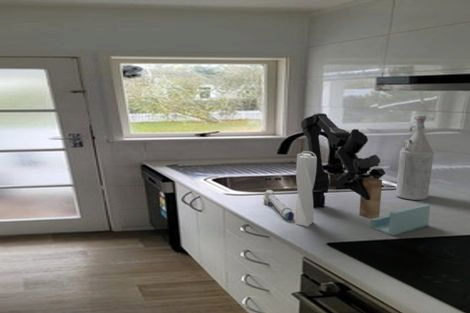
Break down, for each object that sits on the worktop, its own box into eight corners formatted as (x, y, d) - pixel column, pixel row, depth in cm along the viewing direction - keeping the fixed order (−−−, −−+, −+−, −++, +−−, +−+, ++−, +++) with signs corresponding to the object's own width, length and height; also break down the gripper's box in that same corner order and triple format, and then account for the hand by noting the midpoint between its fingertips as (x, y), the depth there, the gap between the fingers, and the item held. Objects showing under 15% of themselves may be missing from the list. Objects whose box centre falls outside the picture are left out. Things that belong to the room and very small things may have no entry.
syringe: (283, 212, 125) (262, 187, 148) (282, 227, 127) (261, 200, 150) (296, 210, 126) (272, 186, 149) (294, 226, 128) (271, 199, 151)
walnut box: (359, 215, 113) (361, 178, 111) (368, 213, 115) (371, 177, 113) (370, 219, 109) (373, 181, 107) (379, 217, 111) (382, 179, 109)
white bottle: (388, 195, 160) (395, 114, 154) (410, 191, 168) (417, 113, 162) (412, 202, 149) (421, 115, 143) (435, 197, 158) (444, 114, 151)
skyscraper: (309, 228, 118) (313, 152, 114) (290, 224, 122) (293, 150, 118) (316, 221, 125) (320, 149, 120) (298, 218, 129) (301, 147, 124)
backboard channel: (370, 226, 120) (372, 206, 119) (405, 218, 129) (407, 198, 128) (392, 235, 112) (394, 213, 111) (428, 225, 121) (430, 205, 120)
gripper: (344, 148, 107) (370, 189, 99) (383, 145, 116) (409, 182, 108) (326, 168, 115) (348, 207, 108) (363, 163, 124) (386, 199, 116)
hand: (373, 198), depth 110 cm, fingers closed on walnut box, 4 cm apart
